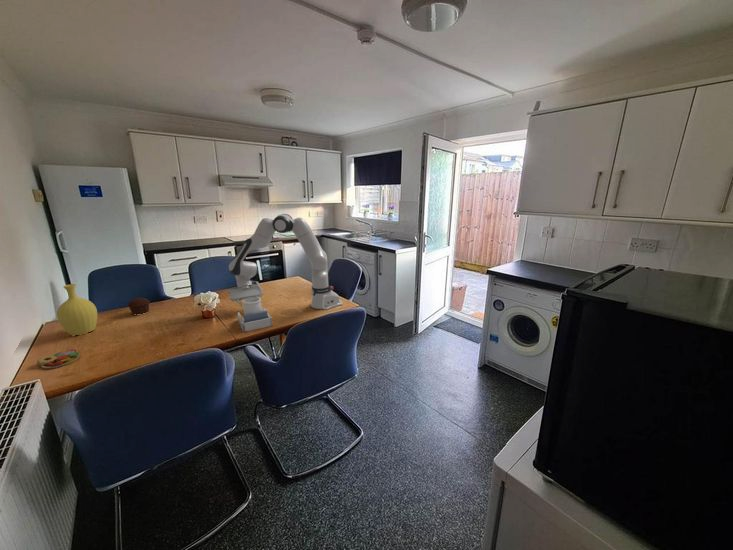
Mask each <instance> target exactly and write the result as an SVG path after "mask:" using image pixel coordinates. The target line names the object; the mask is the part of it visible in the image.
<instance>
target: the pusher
mask: <svg viewBox="0 0 733 550" xmlns="http://www.w3.org/2000/svg"><path fill="white" fill-rule="evenodd" d="M267 312H268V311H267V309H266V311H263V310H262V311H260V312H256V313H250V314H243V315H242V316H243V317H242V319H243V322H244V323H246V322H251V321H256V320H261V319H266V318H268V315H267Z"/></svg>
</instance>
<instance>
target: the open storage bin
mask: <svg viewBox="0 0 733 550" xmlns="http://www.w3.org/2000/svg"><path fill="white" fill-rule="evenodd" d="M266 310H267V309H266V307H262V311H266ZM267 315H268V318H266V319H261V320H256V321H251V322H246V323H244V318H243V317H242V315H241V313H240V312H237V321H238V323H239V326H240V328H241V330H242V332H243V333H245V332H246V331H247V332H250V331H254V330H258V329H259V330H261V329H264V328H269V327H272V326H273V318H272V316H271V315H270V313H269V312H268V311H267ZM247 332H246V333H247Z"/></svg>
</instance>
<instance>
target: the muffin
mask: <svg viewBox="0 0 733 550" xmlns="http://www.w3.org/2000/svg"><path fill="white" fill-rule="evenodd" d="M150 302H151V301H150V300H149V299H148V298H145V297H137V298H133V299H130V301H129V303H127V307H128V308H129V309H130V312H131V314H132V315H133V314H136V315H137V314H143V313H146V312H148V311H149V312H150ZM149 312H148V313H149ZM146 314H147V313H146ZM143 315H144V314H143Z"/></svg>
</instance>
